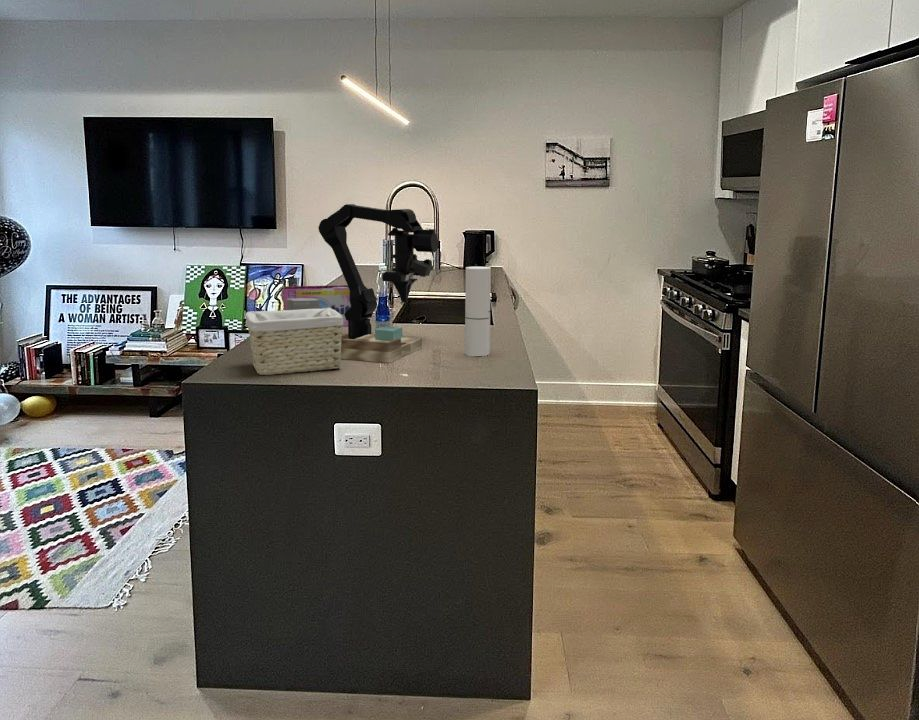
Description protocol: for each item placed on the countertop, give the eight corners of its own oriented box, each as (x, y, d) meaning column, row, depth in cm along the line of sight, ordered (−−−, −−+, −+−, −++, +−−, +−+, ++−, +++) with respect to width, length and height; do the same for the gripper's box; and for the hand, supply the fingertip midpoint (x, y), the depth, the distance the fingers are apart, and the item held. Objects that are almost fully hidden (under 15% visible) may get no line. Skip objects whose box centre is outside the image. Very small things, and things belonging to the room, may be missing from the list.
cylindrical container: (492, 352, 239) (493, 267, 234) (485, 357, 232) (486, 269, 227) (469, 350, 241) (470, 266, 236) (461, 355, 235) (462, 268, 229)
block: (375, 339, 241) (375, 329, 241) (384, 336, 247) (384, 326, 246) (393, 341, 239) (393, 331, 239) (402, 337, 245) (402, 327, 244)
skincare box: (293, 356, 232) (291, 300, 229) (286, 351, 239) (284, 297, 235) (322, 353, 236) (320, 299, 233) (314, 349, 242) (312, 296, 239)
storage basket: (253, 377, 207) (250, 320, 204) (246, 364, 222) (243, 310, 219) (346, 371, 215) (345, 315, 212) (333, 358, 230) (332, 306, 227)
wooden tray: (331, 357, 231) (331, 338, 229) (368, 343, 251) (368, 326, 249) (389, 363, 224) (388, 343, 223) (422, 348, 244) (422, 330, 243)
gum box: (281, 329, 275) (280, 289, 272) (281, 325, 283) (279, 286, 280) (353, 327, 280) (352, 287, 277) (350, 323, 288) (350, 284, 285)
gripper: (415, 254, 236) (415, 307, 240) (440, 249, 253) (440, 299, 257) (381, 253, 240) (381, 305, 244) (408, 248, 257) (408, 297, 261)
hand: (404, 302), depth 251 cm, fingers closed
